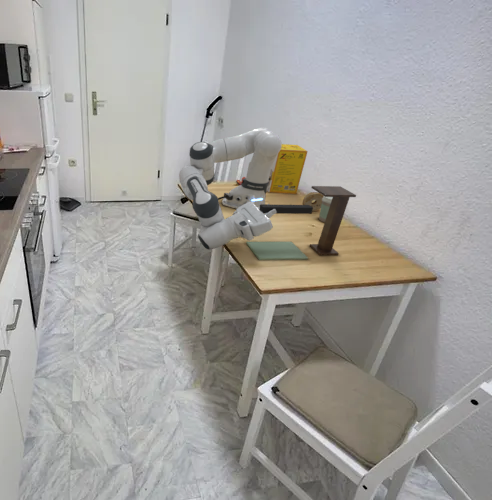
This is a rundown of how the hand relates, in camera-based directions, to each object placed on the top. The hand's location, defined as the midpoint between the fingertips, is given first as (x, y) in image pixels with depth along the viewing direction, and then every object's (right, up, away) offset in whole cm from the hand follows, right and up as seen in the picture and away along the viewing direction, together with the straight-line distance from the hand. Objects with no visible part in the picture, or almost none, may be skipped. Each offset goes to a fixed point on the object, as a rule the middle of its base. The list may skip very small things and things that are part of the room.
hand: (273, 208), depth 137 cm
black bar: (+5, -1, +1) cm, 5 cm away
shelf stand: (+22, -16, +12) cm, 30 cm away
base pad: (+5, -16, +9) cm, 19 cm away
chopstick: (+11, +22, +81) cm, 85 cm away
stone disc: (+39, +5, +53) cm, 66 cm away
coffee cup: (+41, -1, +41) cm, 58 cm away
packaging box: (+33, +21, +83) cm, 92 cm away
